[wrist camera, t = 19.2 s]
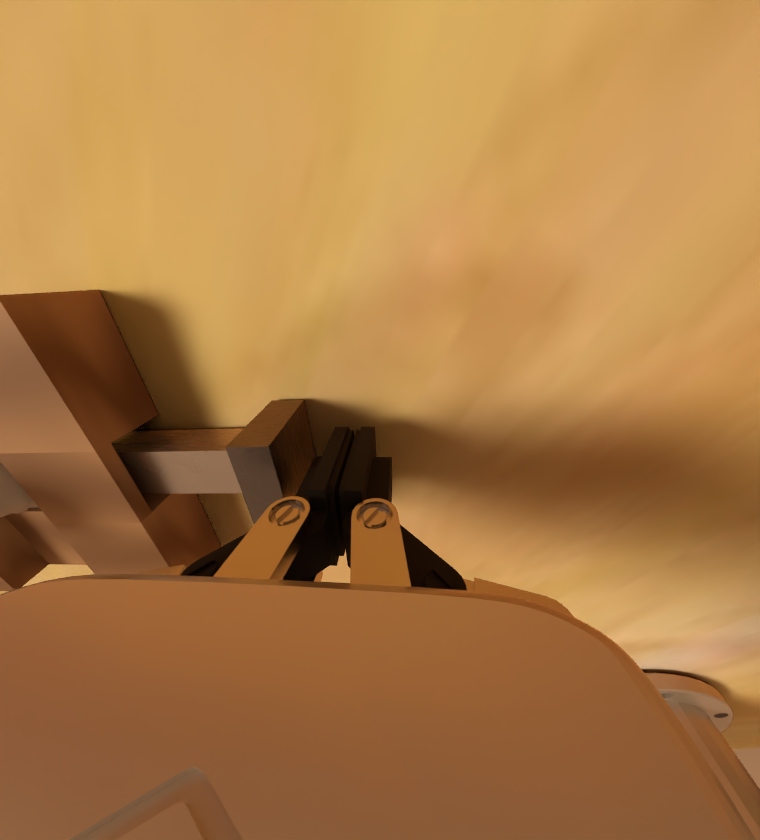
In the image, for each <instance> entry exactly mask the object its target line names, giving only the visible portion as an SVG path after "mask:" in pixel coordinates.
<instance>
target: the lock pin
mask: <svg viewBox="0 0 760 840" xmlns="http://www.w3.org/2000/svg"><path fill="white" fill-rule="evenodd" d="M111 444H112V446H113V447H114V449H115V451H116V452H117V454H118V456H119V458H120V459H121V461H122V463H123V464H124V466H125V468H126V469H127V471H128V473H129V474H130V476H131V478H132V479H133V481H134V483H135V484H136V486H137V488H138V489H139V491H140V493H141V494H197V493H242V494H243V496H244V499H245V502H246V504H247V507H248V510H249V512H250V515H251V517H252V520H253V523H254V524H255V523H256V522H257V521H258V519H259V518H260V517H261V515H262V514H263V513H264V512H265V510H266V509H267V508H268V507H269V506H270V505H271V504H272V503H274V502H276V501H277V500H280V499H282V498H285V497H290V496H295V495H296V493H297V491H298V489H299V487H300V485H301V483H302V481H303V479H304V477H305V475H306V473H307V471H308V469H309V467H310V465H311V463H312V461H313V459H314V457H315V452H314V447H313V442H312V437H311V432H310V427H309V422H308V417H307V412H306V407H305V403H304V400H277V401H271V402H270V403H269V404H268V405H267V406H266V407H265V408H264V409H263V410H262V411H261V412H260V413H259V414H258V415H257V416H256V417H255V418H254V419H253V420H252V421H251V422H250V423H249V424H248V425H247V426H246V427H245V428H234V429H193V430H153V431H130V432H129V433H127V434H125V435H123V436H122V437H120V438H118V439H117V440H115V441H113V442H112V443H111Z"/></svg>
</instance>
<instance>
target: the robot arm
mask: <svg viewBox="0 0 760 840" xmlns="http://www.w3.org/2000/svg"><path fill="white" fill-rule="evenodd" d="M391 501H392V457H376V440H375V427H361V430H356V433H355V435H354V430H350V429H349V427H335V429H334V431H333V433H332V436H331V438H330V440H329V442H328V444H327V447H326V449H325V451H324V453H323V456H322V457H314V459H313V461H312V463H311V465H310V467H309V469H308V471H307V473H306V475H305V477H304V479H303V481H302V483H301V485H300V487H299V489H298V491H297V493H296V495H295V496H290V497H285V498H282V499H280V500H277V501H276V502H274V503H272V504H271V505H270V506H269V507H268V508H267V509H266V510H265V512H264V513H263V514H262V515H261V517H260V518H259V519H258V521H257V522H256V523H255V524H254V526H253V527H252V528H251V529H250V531H249V532H248V533H247V534H245V535H243V536H241V537H239V538H237V539H235V540H233V541H232V542H230V543H228V544H226V545H224V546H222V547H220V548H219V549H217V550H215V551H213V552H211V553H209V554H207V555H205V556H204V557H202V558H200V559H198V560H197V561H195V562H194V563H192V564H191V565H189V566H188V567H187V568H186V567H185V565H179V566H172V567H166V568H160V569H154V570H148V571H142V572H136V573H130V574H93V575H82V576H72V577H65V578H59V579H54V580H48V581H44V582H40V583H36V584H33V585H29V586H25V587H22V588H18V589H15V590H12V591H9V592H6V593H3V594H1V595H0V840H760V789H759V788H758V786H757V785H756V783H755V782H754V780H753V779H752V777H751V776H750V775H749V773H748V772H747V770H746V769H745V767H744V766H743V764H742V763H741V762H740V760H739V759H738V757H737V756H736V755H735V753H734V752H733V750H732V749H731V747H730V746H729V744H728V743H727V742H726V740H725V739H724V737H723V736H722V734H721V732H723V731H724V730H725V729H726V728H727V727H728V726H729V725H730V724H731V722H732V720H733V711H732V709H731V708H730V706H729V705H728V704H727V702H726V701H725V700H724V698H723V697H722V695H721V694H720V693H719V692H718V691H717V690H716V689H715V688H714V687H712V686H710V685H708V684H706V683H704V682H702V681H700V680H697V679H694V678H690V677H687V676H681V675H675V674H664V673H644V672H643V671H642V670H641V669H640V667H639V666H638V665H637V664H636V663H635V661H634V660H633V659H632V658H631V657H630V656H629V655H628V654H627V653H626V652H625V651H624V650H623V649H622V648H621V647H619V646H618V645H617V644H616V643H615V642H614V641H612V640H611V639H610V638H608V637H607V636H605V635H604V634H603V633H601V632H600V631H598V630H596V629H595V628H593V627H591V626H590V625H588V624H586V623H584V622H582V621H580V620H578V619H576V618H574V616H573V615H572V614H571V613H570V612H569V611H568V609H567V608H566V607H564V606H563V605H562V604H560V603H559V602H558V601H556V600H554V599H551V598H549V597H547V596H543V595H539V594H536V593H532V592H528V591H524V590H520V589H516V588H513V587H509V586H505V585H501V584H497V583H493V582H489V581H486V580H482V579H478V578H475V579H474V581H470V580H466V579H463V578H462V576H461V575H460V574H459V573H458V572H457V571H456V570H455V569H454V568H452V567H451V566H450V565H449V564H448V563H446V562H445V561H444V560H443V559H441V558H440V557H439V556H438V555H437V554H435V553H434V552H433V551H432V550H430V549H429V548H428V547H427V546H426V545H424V544H423V543H422V542H421V541H420V540H418V539H417V538H416V537H415V536H413V535H412V534H411V533H410V532H409V531H407V530H406V529H405V528H404V527H402V526H401V525H400V523H399V517H398V512H397V510H396V507H395V506H394V505H393V504H392V503H391ZM345 549H346V555H347V562H348V566H349V567H350V569H351V574H350V583H333V582H321V579H322V575H323V572H322V570H324V569H325V568H326V567H328V566H329V565H335V566H337V562H338V558H339V556H344V553H345Z"/></svg>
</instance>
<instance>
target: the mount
mask: <svg viewBox="0 0 760 840" xmlns="http://www.w3.org/2000/svg"><path fill="white" fill-rule="evenodd" d="M158 415H159V414H158V412H157V410H156V408H155V406H154V404H153V402H152V400H151V398H150V396H149V393H148V391H147V389H146V387H145V385H144V383H143V381H142V379H141V377H140V375H139V372H138V370H137V368H136V366H135V364H134V362H133V360H132V358H131V356H130V354H129V351H128V349H127V347H126V345H125V343H124V341H123V339H122V337H121V335H120V333H119V330H118V328H117V326H116V324H115V322H114V320H113V318H112V316H111V314H110V312H109V309H108V307H107V305H106V303H105V301H104V299H103V297H102V295H101V293H100V291H99V290H87V291H69V292H51V293H33V294H14V295H0V462H1V463H2V464H3V465H4V466H5V468H6V469H7V470H8V471H9V472H10V474H11V475H12V476H13V477H14V478H15V480H16V481H17V482H18V483H19V484H20V486H21V487H22V488H23V489H24V490H25V491H26V493H27V494H28V495H29V496H30V497H31V499H32V500H33V501H34V502H35V503H36V505H37V506H38V507H35V508H28V510H26V511H23V512H21V513H19V514H14V513H11V514H8V515H6V516H3V517H1V518H0V591H12V590H15V589H18V588H21V587H22V586H23V585H24V584H26V583H27V582H28V581H29V580H30V579H32V578H33V577H34V576H35V575H36V574H38V573H39V572H40V571H41V570H43V569H44V568H45V567H46V566H47V565H49V564H77V565H88V566H89V568H90V569H91V570H92V571H93V572H94V574H130V573H136V572H142V571H148V570H154V569H160V568H166V567H172V566H179V565H185V567H186V568H187V567H188V566H189V565H191V564H192V563H194V562H195V561H197V560H198V559H200V558H202V557H204V556H205V555H207V554H209V553H211V552H213V551H215V550H217V549H219V548H220V546H221V545H220V542H219V540H218V538H217V536H216V534H215V532H214V530H213V528H212V526H211V524H210V521H209V519H208V517H207V515H206V513H205V511H204V509H203V507H202V505H201V503H200V500H199V498H198V496H197V494H141V493H140V491H139V489H138V488H137V486H136V484H135V483H134V481H133V479H132V478H131V476H130V474H129V473H128V471H127V469H126V468H125V466H124V464H123V463H122V461H121V459H120V458H119V456H118V454H117V452H116V451H115V449H114V447H113V446H112V444H111V443H112V442H113V441H115V440H117V439H118V438H120V437H122V436H123V435H125V434H127V433H129V432H130V431H132V430H134V429H135V428H137V427H139V426H141V425H142V424H144V423H146V422H147V421H149V420H151V419H152V418H154V417H156V416H158Z"/></svg>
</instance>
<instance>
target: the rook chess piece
mask: <svg viewBox="0 0 760 840" xmlns="http://www.w3.org/2000/svg"><path fill="white" fill-rule="evenodd" d="M35 507H38V506H37V505H36V503H35V502H34V501H33V500H32V499H31V497H30V496H29V495H28V494H27V493H26V491H25V490H24V489H23V488H22V487H21V486H20V484H19V483H18V482H17V481H16V480H15V478H14V477H13V476H12V475H11V474H10V472H9V471H8V470H7V469H6V468H5V466H4V465H3V464H2V463H1V462H0V518H1V517H3V516H6V515H8V514H11V513H14V514H19V513H21V512H23V511H26V510H28V508H35Z"/></svg>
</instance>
